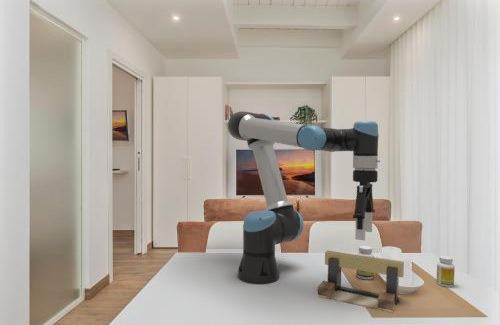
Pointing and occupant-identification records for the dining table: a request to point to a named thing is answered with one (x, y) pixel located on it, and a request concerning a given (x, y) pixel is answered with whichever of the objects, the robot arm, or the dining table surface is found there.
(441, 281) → the supplement bottle
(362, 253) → the pill bottle
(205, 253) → the dining table surface
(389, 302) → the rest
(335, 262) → the rack
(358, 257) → the rail
